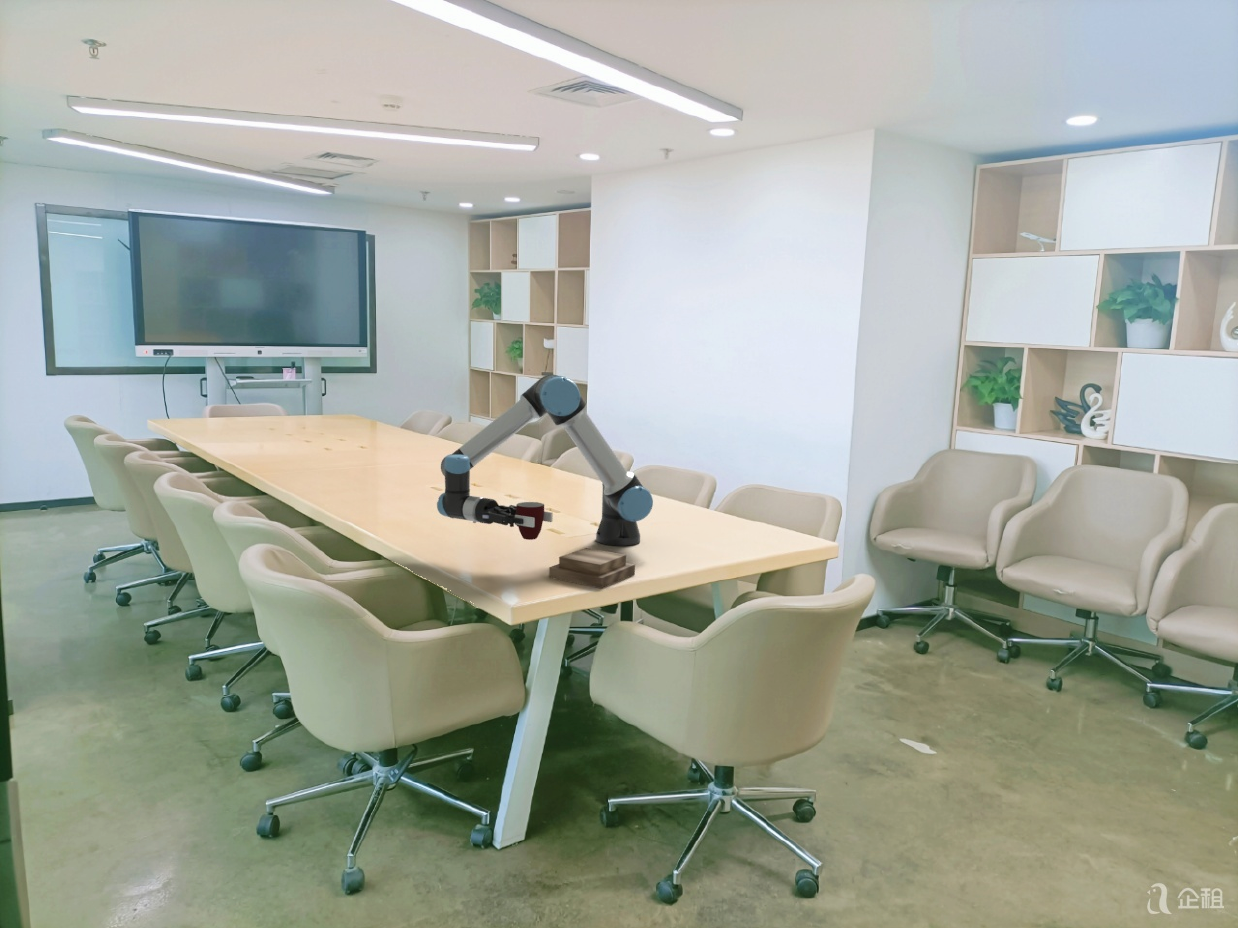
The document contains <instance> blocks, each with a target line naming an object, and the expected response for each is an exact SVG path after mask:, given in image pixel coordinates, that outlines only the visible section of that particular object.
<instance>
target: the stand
mask: <svg viewBox="0 0 1238 928" xmlns="http://www.w3.org/2000/svg"><path fill="white" fill-rule="evenodd" d="M635 571H636V564H633V563H628V562H627V555H626V554H623V553H618V552H617V553H616V552H612V551H607V550H601V549H596V548H590V547H584V548H581V549H578V550H575V551H572V552H569V553H566V554H564V555H560V556H559V557H558V563H557V564H554V565H552V566H549V568H548V577H549V578H550V579H554V578H555V580H559V579H560V580H559V581H564V582H570V583H573V582H574V583H575V584H578V585H583V586H586V587H587V586H589V587H593V588H596V589H597V588H598V589H603V588H606V587H609V586H611V585H614V584H616V583H618V582H621V581H622V580H625V579H628V578H630V577H632V576H634V575H635V574H636V572H635Z"/></svg>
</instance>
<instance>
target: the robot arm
mask: <svg viewBox="0 0 1238 928" xmlns="http://www.w3.org/2000/svg"><path fill="white" fill-rule="evenodd" d="M587 406H588V404H587V403H586V401H585V400H584V398H583V396H581V392H580V390H579V386H578V385H577V383H576V382H575V381H573V380H572V379H570V378H568V377H566V376H562V375H556V374H548V375H544V376H542V377H540V378H539V379H538V380H537V381H536V382H535V383H534V384H532V385H531V386H530V387H529V388H527V389H526V391H524V392H523V393H522V394H521V395H520V397H519V400H517V402H516V403H514V404H513V405H512V406H511V407H509V408H508V409H507V410H505V411H504V412H503V413H502V414H500V415H499V416H498V417H497V418H496V419H494V420H493V421H491V422H490V423H489V424H488V425H486V426H485V427H484V428H482V430H480V431H479V432H478V433H476V434H475V435H474V436H473V437H471V438H470V439H469V440H468V441H466V442H465V443H464V444H462V445H461V446H460V447H459V448H458V449H457V450H455V451H454V452H452V454H447V455H445V456H444V457H443V459H442V460H441V462H440V471H441V473H442V475H443V476H444V492H443V493H441V494H440V495H439V496H438V500H437V502H436V508H437V511H438V513H439V514H440V515H442V516H444V517H446V518H450V519H457V520H464V521H468V522H469V521H470V522H471V521H472V523H473V524H476V523H480V524H486V525H487V524H488V525H492V524H493V523H494V524H499V525H503V526H509V527H510V528H512V527H513V528H514V527H515V526H517V525H521V526H527V527H534V526H535V518H533V517H527V516H521V515H515V513H516V505H512V504H510V505H509V506H507V505H504V504H503V505H501V504H500V505H499V503H498V502H497V500H496V499H493V498H487V497H483V496H481V497H480V496H476V495H475V496H474V495H471V493H470V491H471V489H470V487H471V485H470V483H471V481H470V480H471V479H470V478H471V477H470V475H471V471H470V470H472V469H473V468H474V467H475V466H476V465H478V464H479V463H480V462H481V461H482V460H484V459H485V458H486V457H488V456H489V455H491V453H493V452H494V451H495V450H496V449H498V448H499V447H501V446H502V444H504V443H505V442H507V441H509V439H510V438H511V437H513V436H514V435H516V434H517V433H518V432H519V431H521V430H522V429H523V428H524V427H525V426H527V425H528V424H530V423H531V422H532V421H533V420H535V419H537V420H538V419H539V420H540V419H541V418H542V417H543V416H544V415H548V416H549V417H550V419H551V420H552V421H553V423H554V424H555V426H556V427H561V428H563V429H564V431H565V432H566V434H568V437H570V439H571V440H572V442H573V443H574V444H575V447H577V449H578V450H579V451H580V453H581V454H582V456H583V458H584V459H585V460H586V461H587V463H588V464H589V466H590V467H591V468H592V471H594V473H595V474H596V476H597V478H598V479H599V480H600V482H601V484H602V497H601V498H602V499H601V501H602V503H601V504H602V505H601V506H602V507H601V519H600V523H599V525H598V528H597V530H596V534H595V540H596V542H597V543H599V544H603V545H608V546H617V547H618V546H634V545H637V544H640V542H641V533H640V529H639V526H638V523H637V522H640V521H642V520H644V519H645V518H647V516H648V515H649V514H650V513H651V511H652V510H653V505H654V499H653V496H652V493H651V492H650V491H649V490H648V488H646V487H645V486H643V484H642V483H641V481H640V480H639V479H638V476H637V475H636V474H635V473H634V472H633V471H628V470H627V469H626V468H625V467H624V465H623V464H622V462H621V461H620V459H619V457H617V455H616V453H615V452H614V451H613V449H612V447H611V446H610V444H608V441H606V439H605V437H604V436H603V434H602V433H601V431H600V430H599V429H598V427H597V426H596V424H595V423H594V422H593V420H592V418H591V417H590V416H589V414H588V413H587ZM514 515H515V517H514ZM553 515H554V514H553V512H550V511H545V510H544V518H543V522H547V523H552V522H553V519H554V518H553Z"/></svg>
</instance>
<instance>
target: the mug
mask: <svg viewBox="0 0 1238 928" xmlns="http://www.w3.org/2000/svg"><path fill="white" fill-rule="evenodd" d="M515 506H516V513H515V515H521V516H527V517H533V518H535V526H534V527H527V526H521V525H516V526H517V527H518V530H519V532H520V534H521V538H523V539H524V540H529V541H532V540H536V539H537V538H538V537H539V535H540V533H541V530H542V527H543V522H544V521H543V518H544V511H545V504H544V503H542V502H537V501H524V502H518V503H516V505H515ZM515 515H514V517H515Z"/></svg>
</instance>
